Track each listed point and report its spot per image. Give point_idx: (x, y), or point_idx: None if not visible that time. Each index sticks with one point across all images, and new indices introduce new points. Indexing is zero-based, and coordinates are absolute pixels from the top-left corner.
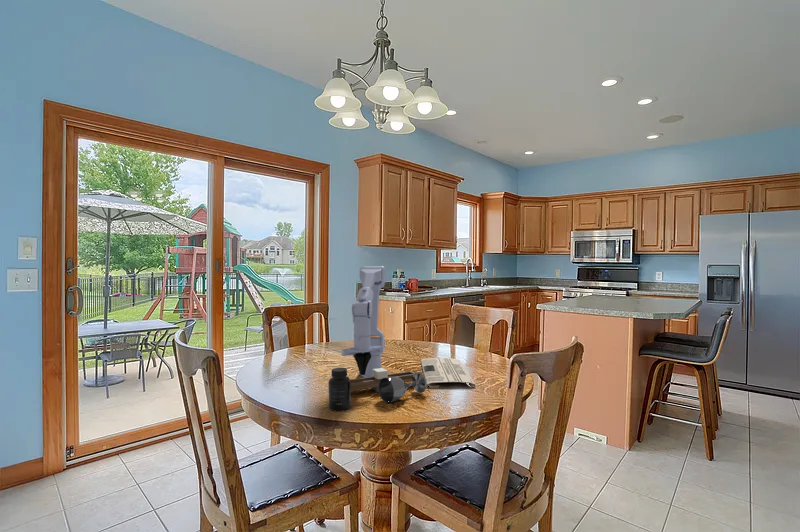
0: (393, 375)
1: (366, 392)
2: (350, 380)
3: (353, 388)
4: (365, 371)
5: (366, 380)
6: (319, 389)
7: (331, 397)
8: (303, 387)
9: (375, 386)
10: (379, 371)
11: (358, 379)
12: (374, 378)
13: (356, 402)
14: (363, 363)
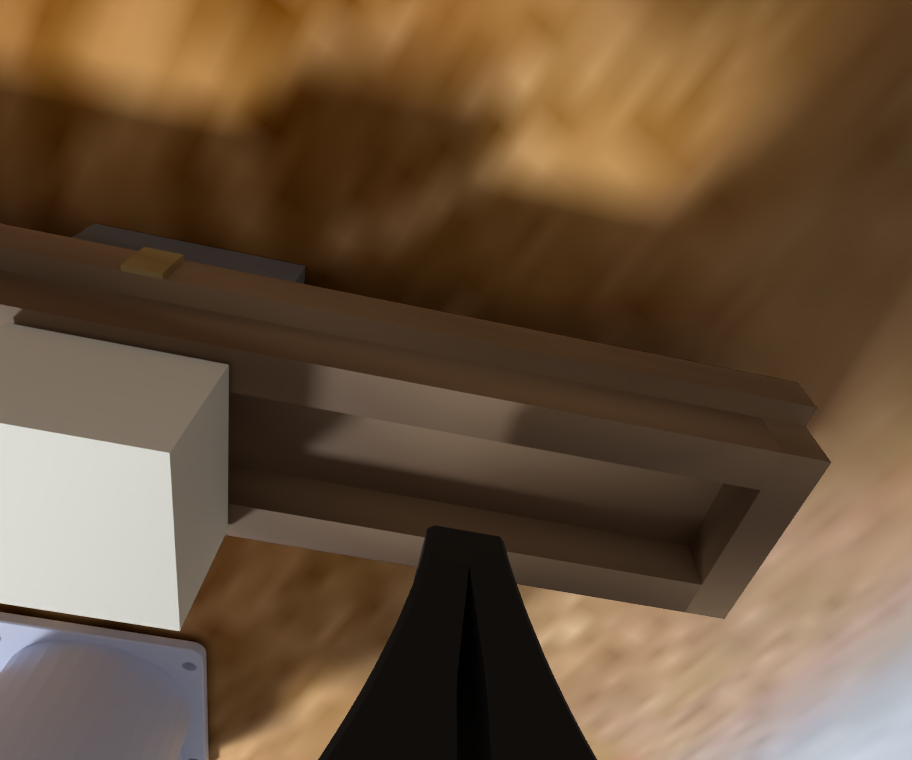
0: None
1: None
2: (610, 567)
3: (696, 375)
4: (426, 565)
5: (355, 498)
6: (743, 667)
7: None
8: (793, 754)
9: (317, 292)
10: (109, 459)
11: None
12: None
13: (834, 66)
14: (495, 757)
